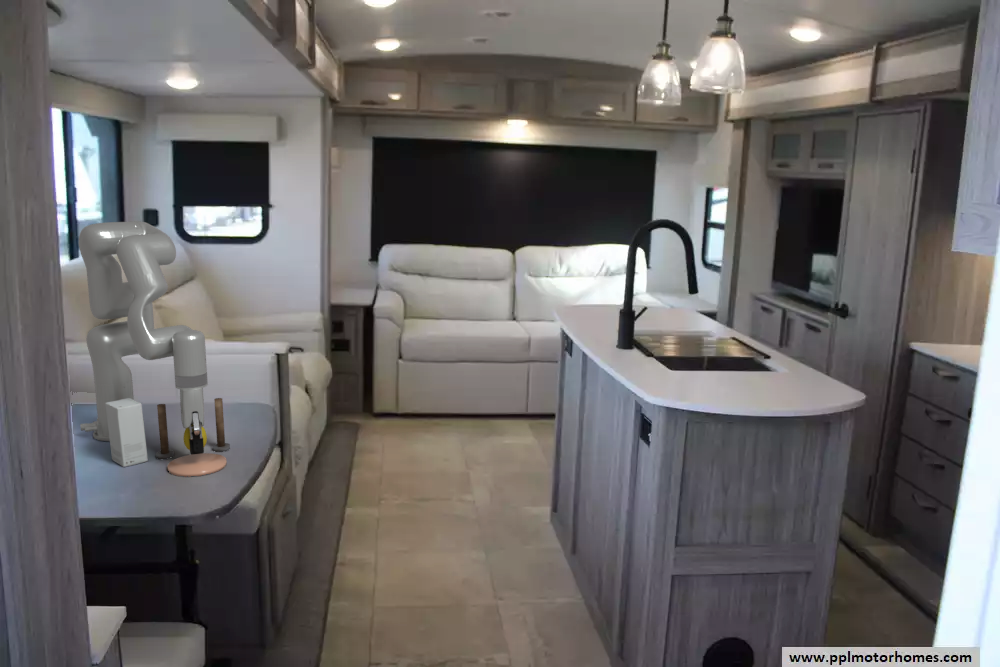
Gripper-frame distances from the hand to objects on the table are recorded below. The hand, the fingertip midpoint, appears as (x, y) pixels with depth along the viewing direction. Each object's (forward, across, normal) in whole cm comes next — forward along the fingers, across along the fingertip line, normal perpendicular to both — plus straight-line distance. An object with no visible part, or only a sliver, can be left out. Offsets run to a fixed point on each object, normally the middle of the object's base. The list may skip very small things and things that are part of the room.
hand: (195, 448), depth 207 cm
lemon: (+1, 0, 0) cm, 1 cm away
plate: (+4, +1, 0) cm, 4 cm away
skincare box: (+5, -10, -16) cm, 19 cm away
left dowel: (+4, -10, -7) cm, 13 cm away
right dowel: (+4, -10, +7) cm, 13 cm away
